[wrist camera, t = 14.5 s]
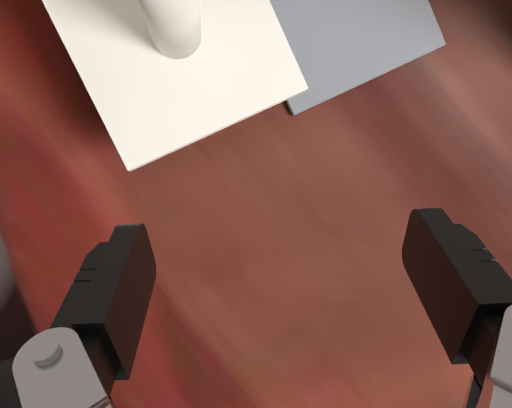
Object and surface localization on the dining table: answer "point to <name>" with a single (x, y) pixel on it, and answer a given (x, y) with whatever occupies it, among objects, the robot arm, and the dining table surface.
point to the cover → (176, 67)
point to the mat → (353, 41)
